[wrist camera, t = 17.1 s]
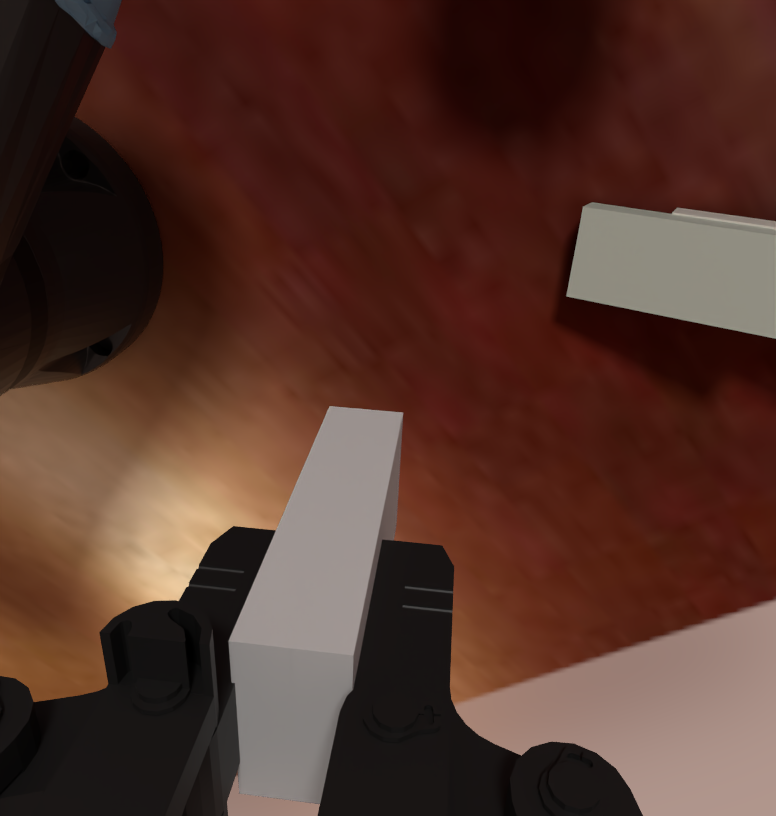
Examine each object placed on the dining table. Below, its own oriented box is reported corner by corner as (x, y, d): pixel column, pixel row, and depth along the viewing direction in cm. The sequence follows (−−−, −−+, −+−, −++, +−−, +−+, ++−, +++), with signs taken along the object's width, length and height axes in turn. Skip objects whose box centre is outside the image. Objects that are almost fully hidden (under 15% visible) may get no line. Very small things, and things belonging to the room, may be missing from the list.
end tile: (566, 296, 35) (786, 340, 31) (583, 206, 33) (819, 241, 29) (575, 288, 37) (786, 330, 33) (592, 202, 35) (818, 235, 31)
